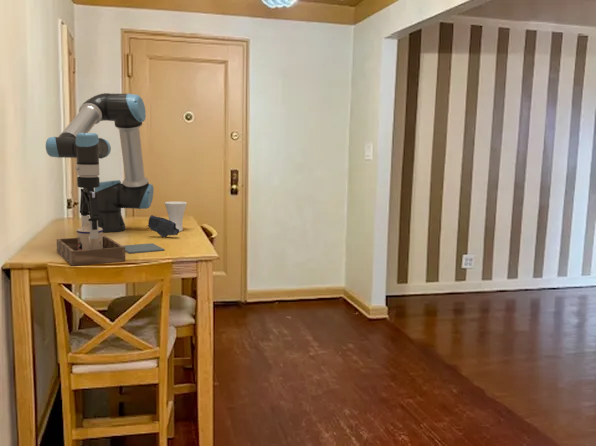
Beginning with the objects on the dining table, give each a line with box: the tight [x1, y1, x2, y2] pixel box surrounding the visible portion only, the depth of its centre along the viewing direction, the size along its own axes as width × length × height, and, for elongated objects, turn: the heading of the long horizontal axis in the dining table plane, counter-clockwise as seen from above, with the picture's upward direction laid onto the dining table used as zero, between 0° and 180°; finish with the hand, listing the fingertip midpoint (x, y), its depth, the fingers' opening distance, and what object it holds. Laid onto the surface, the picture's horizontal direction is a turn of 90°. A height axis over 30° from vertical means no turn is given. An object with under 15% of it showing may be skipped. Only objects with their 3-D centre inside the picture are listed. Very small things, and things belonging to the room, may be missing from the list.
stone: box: [147, 214, 181, 238], centre depth 247 cm, size 14×6×10 cm, turn 102°
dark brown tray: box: [56, 235, 126, 267], centre depth 204 cm, size 26×18×5 cm
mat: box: [123, 242, 166, 255], centre depth 221 cm, size 14×14×1 cm
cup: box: [164, 200, 188, 232], centre depth 267 cm, size 10×10×14 cm
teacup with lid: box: [76, 222, 104, 251], centre depth 204 cm, size 12×9×12 cm
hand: (89, 235), depth 204 cm, fingers closed on teacup with lid, 11 cm apart
